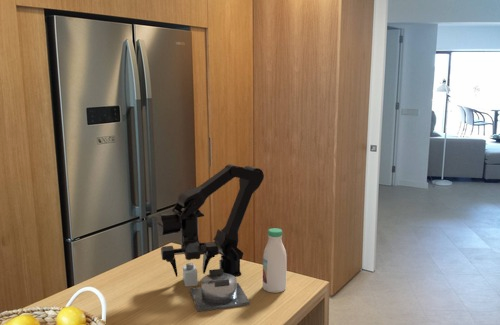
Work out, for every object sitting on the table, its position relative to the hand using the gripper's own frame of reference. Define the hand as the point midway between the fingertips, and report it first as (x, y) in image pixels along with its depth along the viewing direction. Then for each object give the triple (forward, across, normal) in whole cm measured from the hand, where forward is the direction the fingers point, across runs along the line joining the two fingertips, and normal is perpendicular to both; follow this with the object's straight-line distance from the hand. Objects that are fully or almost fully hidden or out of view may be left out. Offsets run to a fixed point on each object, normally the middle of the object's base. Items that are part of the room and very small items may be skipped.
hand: (190, 274), depth 156 cm
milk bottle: (+3, +26, -12) cm, 29 cm away
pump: (+3, 0, 0) cm, 3 cm away
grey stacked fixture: (+3, +7, -14) cm, 16 cm away
